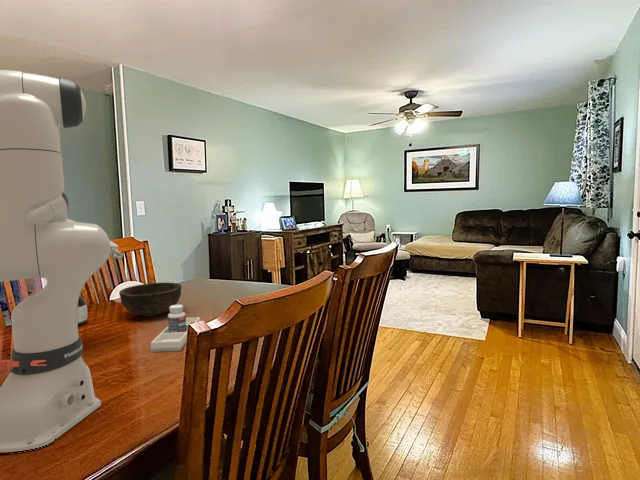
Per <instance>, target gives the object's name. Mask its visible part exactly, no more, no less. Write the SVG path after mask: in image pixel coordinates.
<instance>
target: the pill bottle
mask: <svg viewBox="0 0 640 480" xmlns="http://www.w3.org/2000/svg"><path fill="white" fill-rule="evenodd" d="M186 318H187V317H186V313H185V312H184V305H183V304H176V305H172V306H170V310H169V313H168V314H167V324H168V326H167V327H168V328H169V333H175V332H186Z"/></svg>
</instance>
